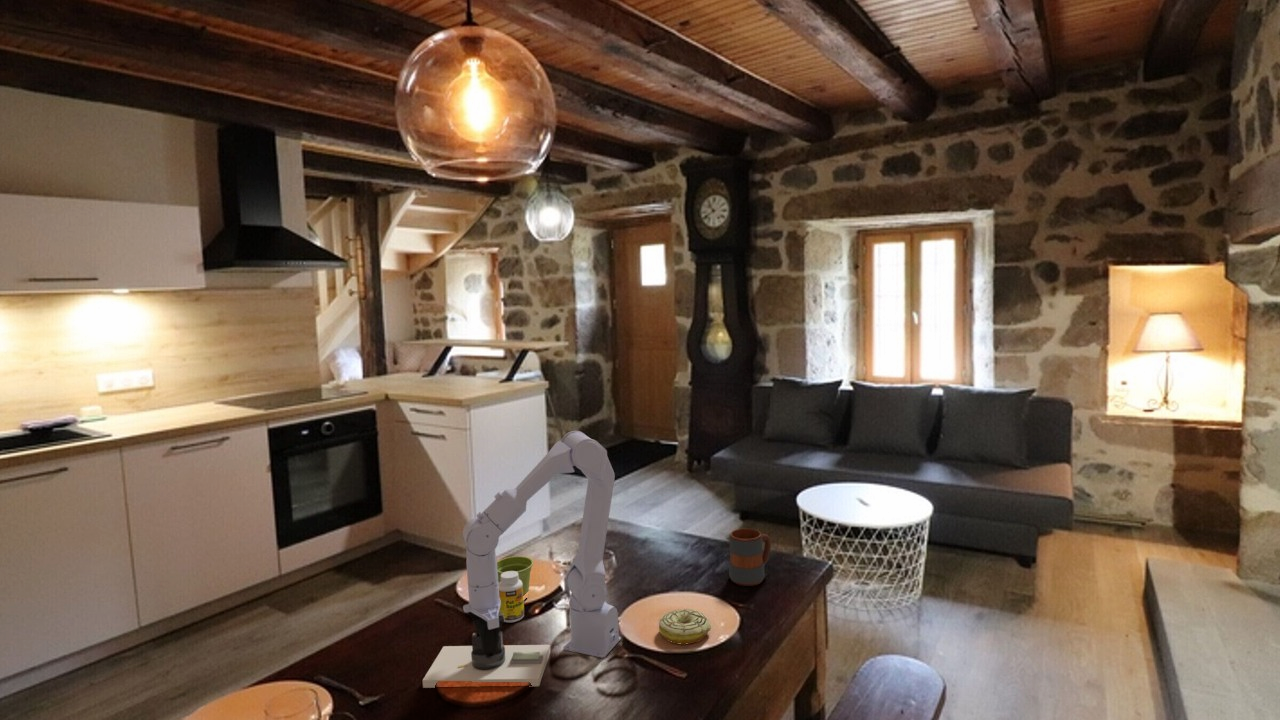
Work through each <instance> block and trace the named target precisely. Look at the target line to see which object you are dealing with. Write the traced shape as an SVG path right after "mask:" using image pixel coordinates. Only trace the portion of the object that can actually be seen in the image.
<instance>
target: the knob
mask: <svg viewBox="0 0 1280 720" xmlns="http://www.w3.org/2000/svg"><path fill="white" fill-rule="evenodd" d="M503 640H504V639H503V631H502V630H500V632H499V635H498V641H497V647H496V652H493V653H489V654H485V653H484V651H483V647H482V643H481V639H480V635H479V632H478V633H477V632H473V633H472V635H471V644H472V645H471V646H472V650H473V651H472V653H471V657H472V666H473V667H474V668H476V669H479V670H490V669H494V668H496V667H499V666H500V665H502V664H503V663H504V661H505V647H504V646H503V645H504V641H503Z"/></svg>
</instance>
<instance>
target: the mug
mask: <svg viewBox="0 0 1280 720" xmlns="http://www.w3.org/2000/svg"><path fill="white" fill-rule="evenodd" d="M763 541H764V547H763ZM771 545H772V541H771V538H770V536H769V535H768V534H766V533H763V534H762V533H761V532H760V531H759V530H757V529H753V528H738V529H734V530H732V531H731V532H730V533H729V552H730V560H729V564H728V565H729V566H728V567H729V569H728V571H729V572H728V574H729V578H730V579H731V581H732V583H734V584H736V585H738V586H743V587H753V586H754V587H755V586H758V585H760V584H761V583H762V582H763V580H764V579H765V575H766V574H765V573H766V572H765V566H766V564H767V563H768V561H769V558H770V555H771V554H770V553H771V547H772V546H771Z"/></svg>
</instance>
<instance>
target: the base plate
mask: <svg viewBox="0 0 1280 720" xmlns="http://www.w3.org/2000/svg"><path fill="white" fill-rule="evenodd" d="M503 646H504V647H505V661H504V663H503V664H502V665H500V666H499V667H496V668H494V669H490V670H479V669H476V668H474V667H473V666H472V657H471V653H472V651H473V650H472V645H454V646H453V645H448V646H447V645H446V646H445V645H444V646H442V648H441V650H440V652H439V653H438V655H437V656H436V658H435V659H434V660H433V663H432V664H431V666H430V668H429V669H428V671H427V672H426V674H425V676H424V677H423V679H422V688H423V689H424V688H425V689H428V688H429V689H431V688H433V689H434V688H435V685H436V683H437V682H438V681H472V682H479V681H480V682H481V681H482V682H530V683H531V685H532V686H531V687H540V685H541V681H542V678H543V675H544V672H545V670H546V667H547V663H548V660H549V658H550V654H551V645H550V644H525V645H524V644H517V645H516V644H507V645H504V644H503Z"/></svg>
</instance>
